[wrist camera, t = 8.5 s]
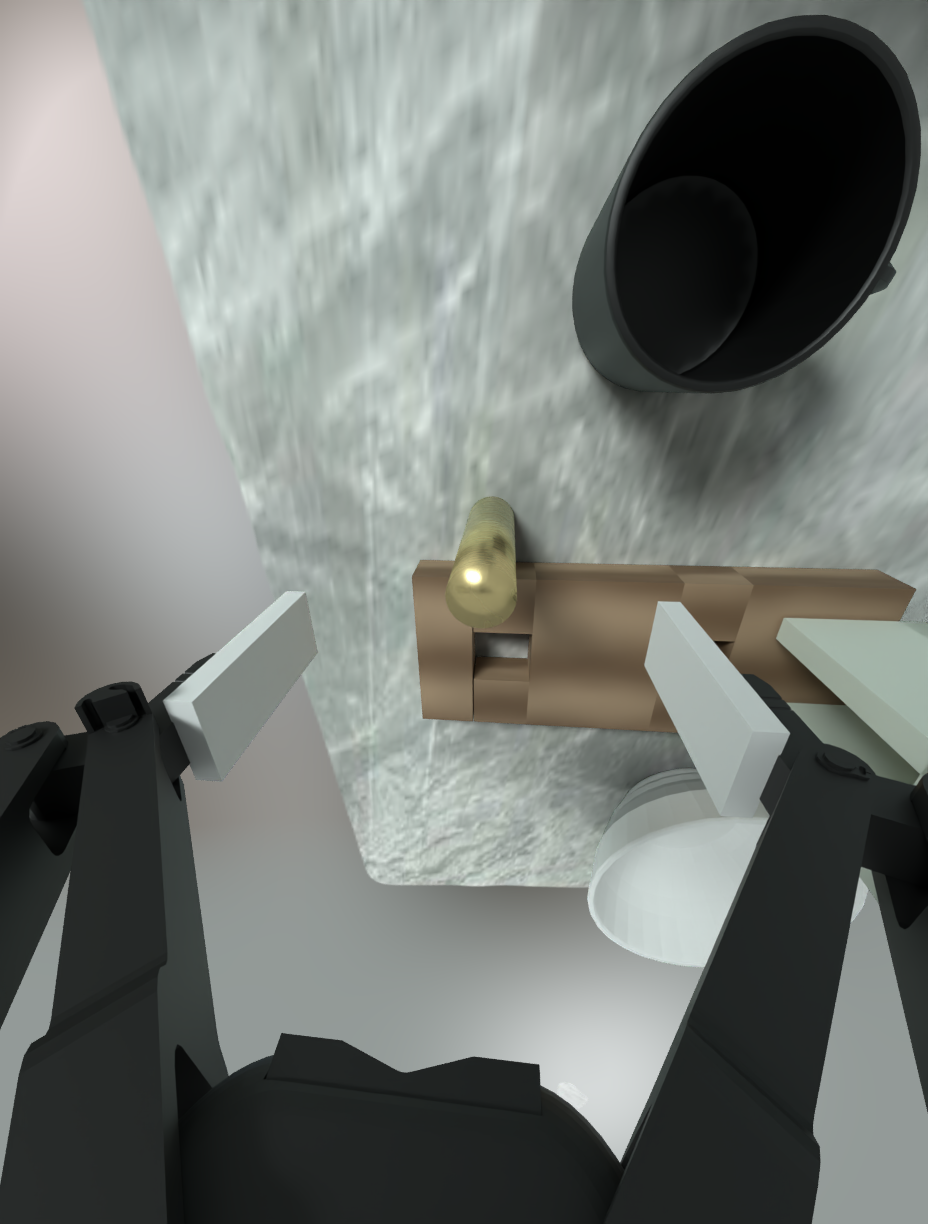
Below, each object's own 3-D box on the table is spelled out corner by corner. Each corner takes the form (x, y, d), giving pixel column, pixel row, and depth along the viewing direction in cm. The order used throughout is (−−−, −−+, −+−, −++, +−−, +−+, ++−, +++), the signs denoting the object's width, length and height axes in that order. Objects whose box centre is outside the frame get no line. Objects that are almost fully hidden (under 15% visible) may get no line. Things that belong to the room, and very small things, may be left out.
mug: (765, 408, 24) (893, 417, 16) (554, 380, 24) (575, 376, 16) (858, 181, 19) (1101, 37, 11) (597, 152, 20) (656, -7, 12)
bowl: (596, 881, 46) (613, 974, 38) (551, 752, 38) (561, 840, 30) (799, 859, 41) (862, 961, 34) (797, 708, 33) (878, 798, 26)
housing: (783, 617, 26) (989, 789, 15) (925, 622, 25) (1254, 806, 14) (745, 717, 30) (887, 915, 19) (868, 724, 29) (1092, 933, 18)
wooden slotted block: (420, 560, 30) (372, 652, 20) (877, 569, 27) (1107, 683, 17) (429, 694, 36) (395, 822, 25) (809, 713, 33) (950, 865, 22)
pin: (468, 496, 28) (444, 563, 17) (515, 496, 27) (518, 564, 17) (469, 540, 29) (446, 627, 19) (513, 541, 29) (515, 629, 18)
